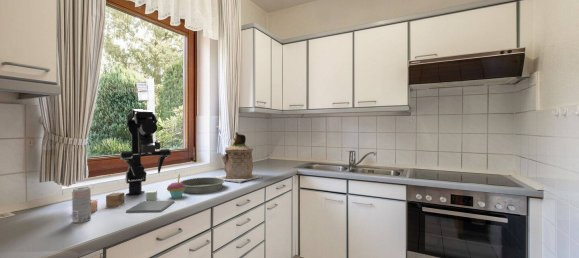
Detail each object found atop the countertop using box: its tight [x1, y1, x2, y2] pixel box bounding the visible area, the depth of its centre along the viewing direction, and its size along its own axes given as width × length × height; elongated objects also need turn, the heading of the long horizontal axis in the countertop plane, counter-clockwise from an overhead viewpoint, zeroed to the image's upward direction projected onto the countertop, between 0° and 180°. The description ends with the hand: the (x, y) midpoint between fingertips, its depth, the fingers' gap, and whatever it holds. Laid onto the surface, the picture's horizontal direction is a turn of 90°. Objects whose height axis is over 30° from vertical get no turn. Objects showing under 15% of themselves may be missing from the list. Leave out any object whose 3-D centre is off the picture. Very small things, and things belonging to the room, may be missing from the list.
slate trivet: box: [125, 200, 175, 213], centre depth 114 cm, size 14×14×1 cm
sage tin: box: [145, 189, 158, 201], centre depth 126 cm, size 4×4×4 cm
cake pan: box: [180, 176, 225, 194], centre depth 148 cm, size 25×25×4 cm
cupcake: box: [166, 173, 186, 199], centre depth 131 cm, size 9×8×12 cm
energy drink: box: [71, 186, 92, 224], centre depth 97 cm, size 5×5×12 cm
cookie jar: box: [213, 131, 263, 184], centre depth 178 cm, size 25×25×32 cm
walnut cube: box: [105, 192, 125, 208], centre depth 117 cm, size 5×5×5 cm
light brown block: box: [91, 199, 98, 214], centre depth 108 cm, size 7×7×4 cm
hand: (147, 174), depth 111 cm, fingers open, 9 cm apart
